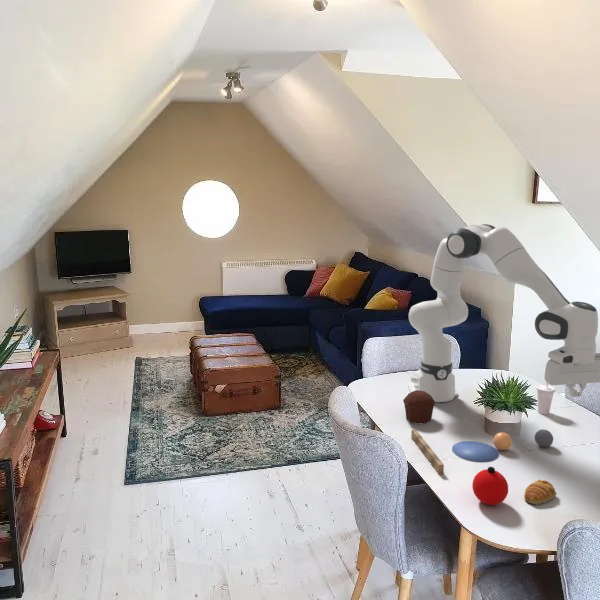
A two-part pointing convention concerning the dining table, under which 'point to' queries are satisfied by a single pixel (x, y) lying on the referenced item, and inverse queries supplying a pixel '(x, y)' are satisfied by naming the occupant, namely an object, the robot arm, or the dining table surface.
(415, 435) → the wall
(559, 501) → the dining table surface
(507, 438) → the object ball
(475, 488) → the ornament
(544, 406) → the smoothie
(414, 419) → the muffin
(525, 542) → the dining table surface
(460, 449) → the blue flat disc
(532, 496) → the pastry
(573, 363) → the robot arm
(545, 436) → the grey matte sphere
